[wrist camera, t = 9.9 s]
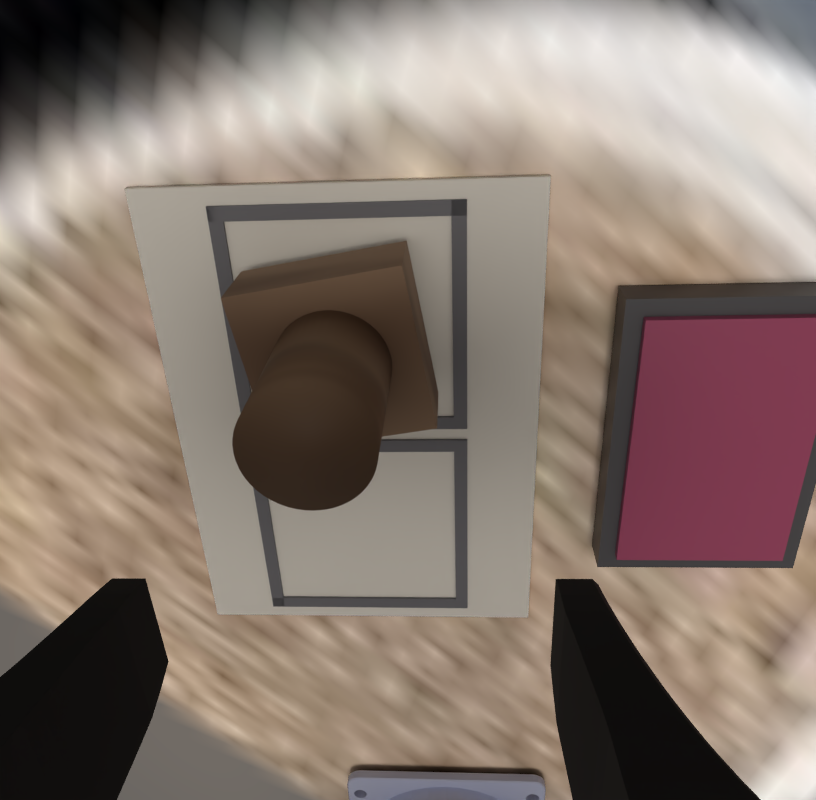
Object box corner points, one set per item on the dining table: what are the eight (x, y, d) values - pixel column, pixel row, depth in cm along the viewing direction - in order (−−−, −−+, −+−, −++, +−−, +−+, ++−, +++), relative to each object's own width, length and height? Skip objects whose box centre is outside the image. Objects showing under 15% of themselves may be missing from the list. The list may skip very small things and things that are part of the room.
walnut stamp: (438, 384, 22) (433, 524, 16) (291, 407, 22) (234, 549, 16) (407, 235, 19) (389, 333, 14) (245, 265, 20) (163, 371, 14)
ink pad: (780, 547, 24) (796, 573, 23) (592, 546, 24) (598, 572, 23) (847, 281, 20) (871, 298, 19) (618, 285, 20) (628, 302, 19)
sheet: (527, 613, 26) (528, 619, 26) (219, 610, 27) (216, 616, 26) (549, 174, 19) (551, 177, 18) (127, 187, 19) (122, 189, 19)
